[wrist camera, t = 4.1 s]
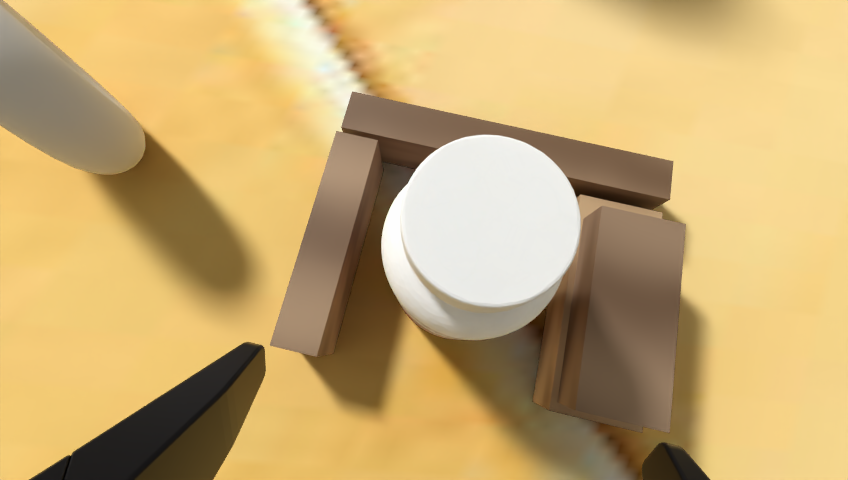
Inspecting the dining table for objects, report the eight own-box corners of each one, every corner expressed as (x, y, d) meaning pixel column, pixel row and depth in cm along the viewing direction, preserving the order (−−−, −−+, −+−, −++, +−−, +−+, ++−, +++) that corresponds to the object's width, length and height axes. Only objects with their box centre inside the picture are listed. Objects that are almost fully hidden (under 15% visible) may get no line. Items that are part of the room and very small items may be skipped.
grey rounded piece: (197, 169, 22) (28, 38, 12) (147, 214, 22) (-72, 112, 12) (82, 62, 24) (-150, -131, 14) (32, 101, 23) (-248, -72, 13)
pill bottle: (485, 205, 22) (551, 77, 11) (532, 312, 21) (658, 284, 10) (377, 244, 21) (337, 149, 11) (418, 358, 20) (421, 380, 9)
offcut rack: (614, 421, 20) (671, 445, 15) (294, 344, 20) (260, 346, 16) (639, 184, 22) (694, 147, 18) (360, 122, 23) (347, 72, 19)
